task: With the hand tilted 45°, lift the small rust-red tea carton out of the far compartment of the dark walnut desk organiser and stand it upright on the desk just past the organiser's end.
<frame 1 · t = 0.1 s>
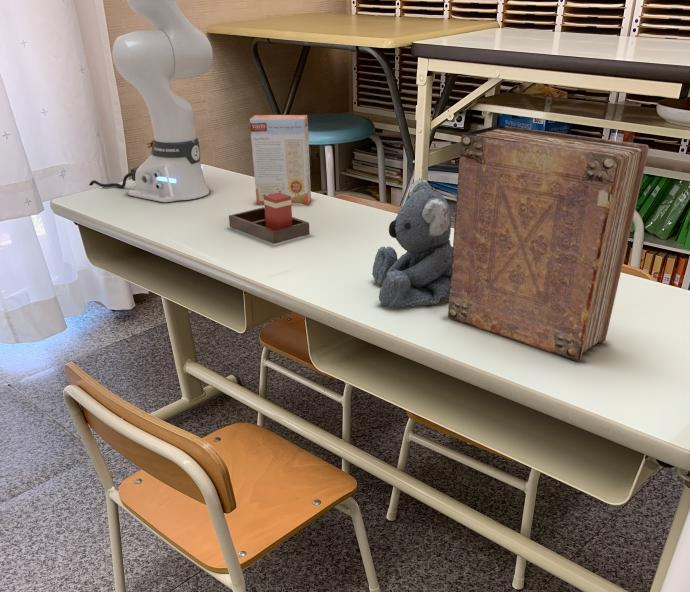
koala plush: (421, 292, 132), on the table
organiser: (269, 232, 163), on the table
cracker box: (284, 202, 185), on the table
tea carton: (279, 234, 160), point 1 cm above the table, touching organiser
book: (523, 331, 117), on the table
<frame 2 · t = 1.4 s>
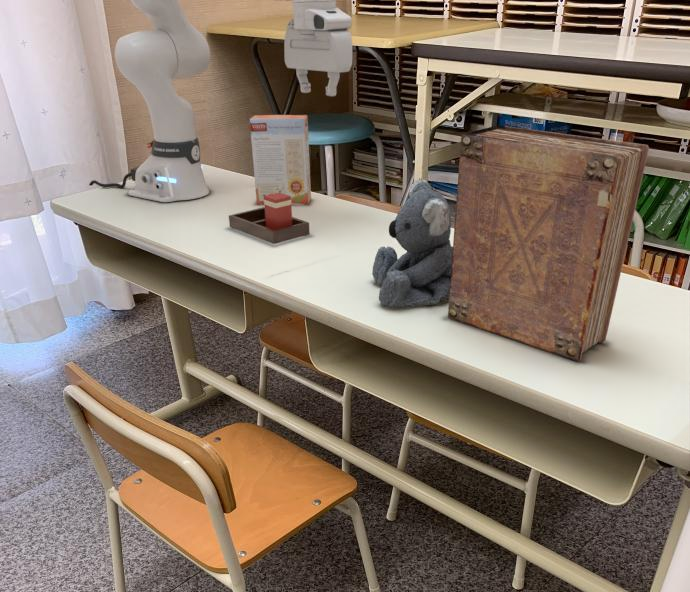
hand: (318, 94, 150), 28 cm above the table, tool pointing down, fingers open, 8 cm apart
nothing on the table moved.
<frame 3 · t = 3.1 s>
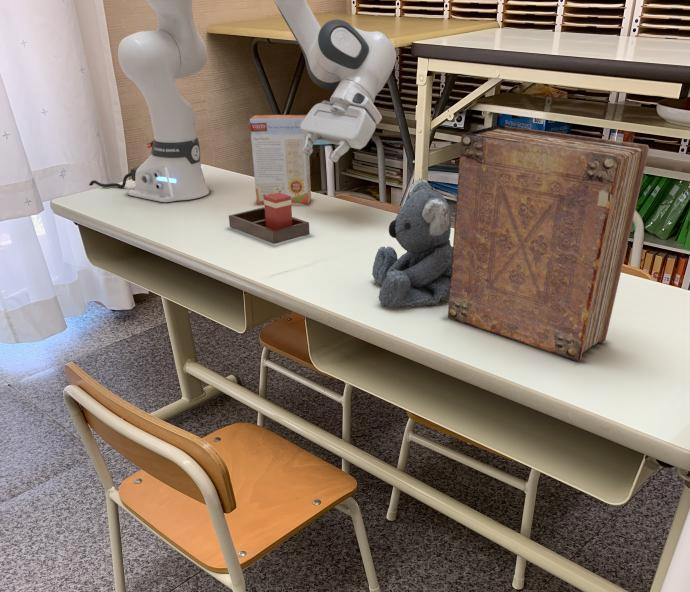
hand: (318, 157, 158), 16 cm above the table, tool tilted 45°, fingers open, 8 cm apart
nothing on the table moved.
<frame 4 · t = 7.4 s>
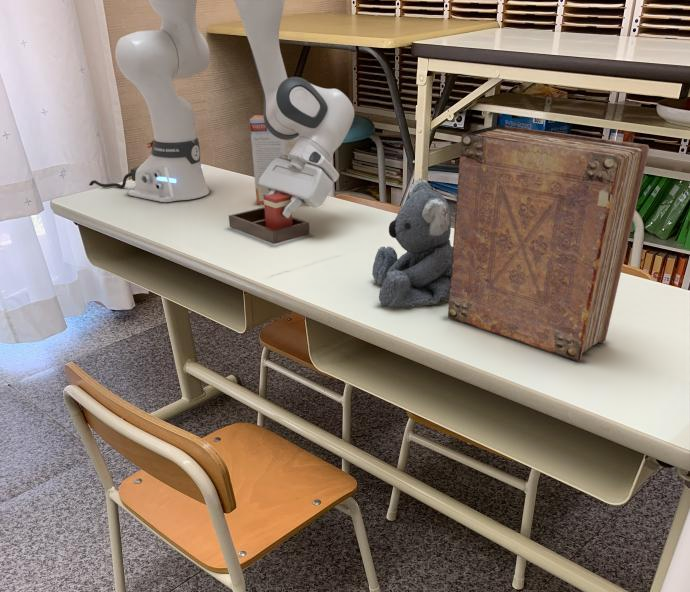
hand: (276, 213, 157), 5 cm above the table, tool tilted 45°, fingers closed on tea carton, 4 cm apart
tea carton: (279, 234, 160), point 1 cm above the table, touching gripper, organiser
everything else where it was.
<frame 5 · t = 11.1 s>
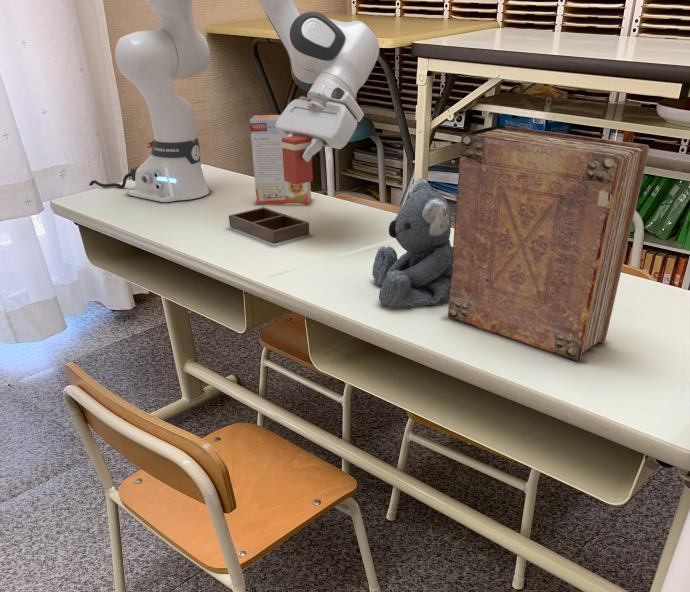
hand: (295, 157, 145), 18 cm above the table, tool tilted 45°, fingers closed on tea carton, 4 cm apart
tea carton: (298, 181, 148), point 14 cm above the table, touching gripper
everything else where it was.
when the fingers open (5 cm above the table, at t = 15.3 s): tea carton stays where it is, on the table.
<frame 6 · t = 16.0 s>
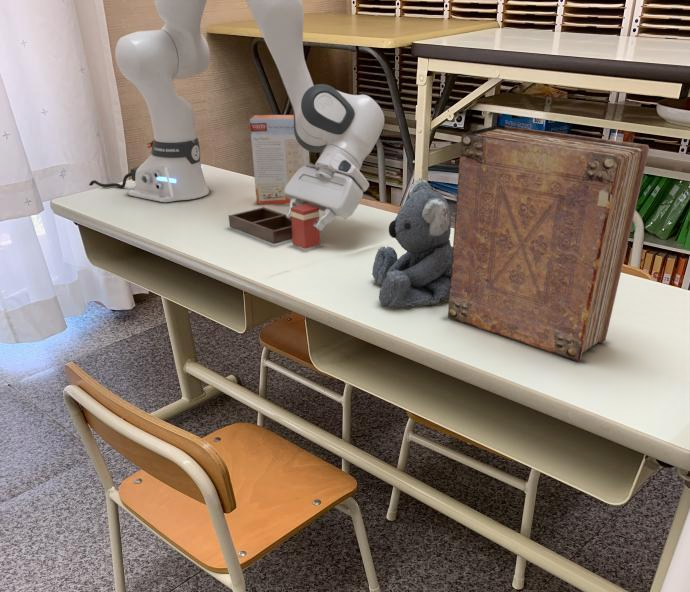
hand: (303, 224, 151), 5 cm above the table, tool tilted 45°, fingers open, 8 cm apart
tea carton: (306, 246, 154), on the table
everything else where it was.
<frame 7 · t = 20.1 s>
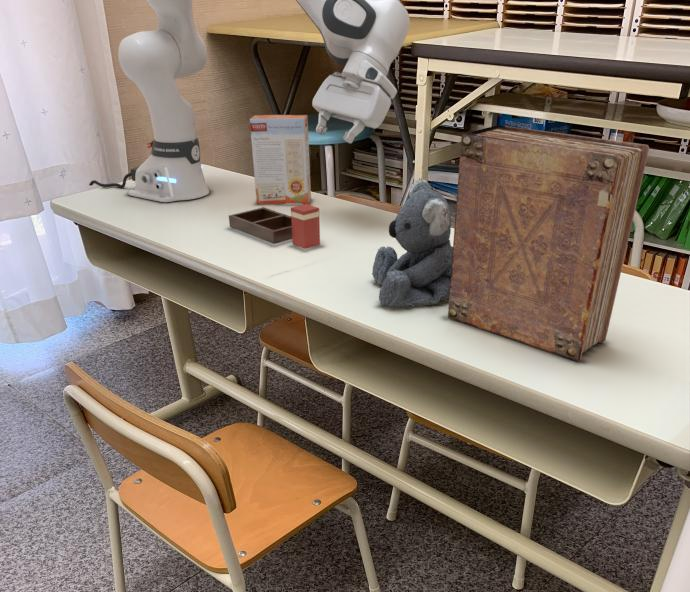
hand: (332, 137, 152), 20 cm above the table, tool tilted 35°, fingers open, 8 cm apart
nothing on the table moved.
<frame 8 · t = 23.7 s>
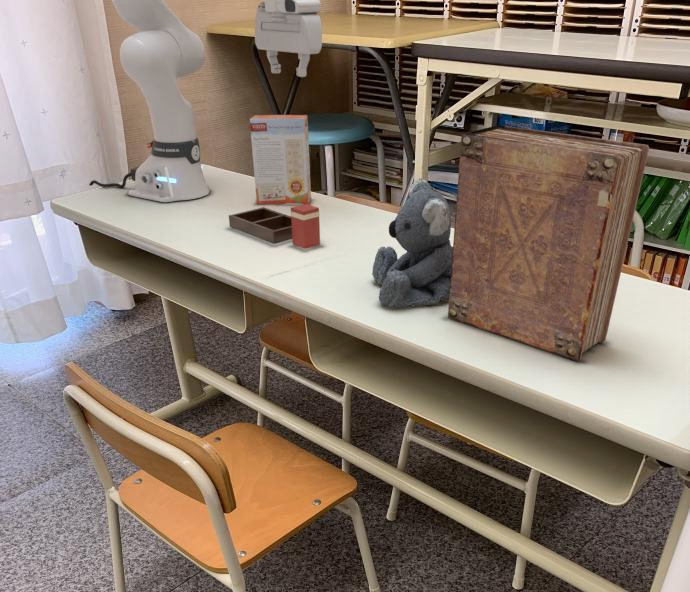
hand: (288, 74, 157), 31 cm above the table, tool pointing down, fingers open, 8 cm apart
nothing on the table moved.
at the end: tea carton inside the target area (0.1 cm from its centre), on the table; tea carton tilted 0°; tea carton touching table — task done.
